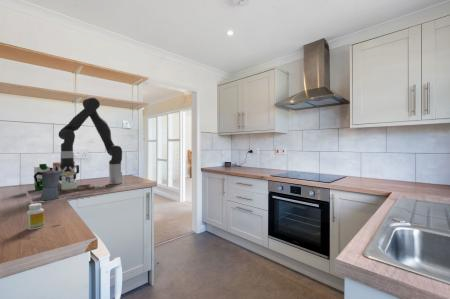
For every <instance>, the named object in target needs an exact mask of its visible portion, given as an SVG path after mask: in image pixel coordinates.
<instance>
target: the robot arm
mask: <svg viewBox="0 0 450 299" xmlns="http://www.w3.org/2000/svg"><path fill="white" fill-rule="evenodd" d="M82 106H83V109H81V111H80V112H78V113H77V114H76V115H75V116H73V118H72V119H70V121H69V122H68V124H66V125H65V126H64V127H63V128H61V129H60V130H59V132H58V137H59V138H60V139H61V140H63V142H62V143H61V144H60V162H61V166H58V167H57V166H56V167H55V171H58V169H59V168H61V169H62V170H61V172H62V173H63V172H67V171H72V172H73V173H74V174H73V179H74V180H75V181H76V179H77V174H80V165H79V164H75V165H74V162H75V160H74V159H75V158H74V157H75V156H74V143H75V138H76V134H75V131H78V130H79V129H80V128H81V126H82V125H83V124H84V123H85V122H86V120H88V118H90V119H91V122H92V123H93V126H94V127H95V129H96V131H97V133H98V135H99V137H100V139H101V140H102V143H103V144H104V147H105V150H106V152H107V154H108V155H109V156H111V159H110V160H109V161H108V169H109V170H108V172H109V173H108V174H109V175H108V176H109V177H108V178H109V179H108V181H109V184H110V185H119V184H123V172H122V160H123V148H122V147H121V146H120V145H115V144H114V142H113V140H112V139H113V138H112V135H111V134H112V132H111V128H110V126H109V124H108V123H107V121H106V120H105V119H104V118H102V117H101V116H100V115H99V113H98V111H97V110H98V109H99V108H100V106H101V102H100V100H99V99H98V98H96V97H90V98H86V99H83V101H82ZM74 167H75V171H74V170H73V168H74ZM62 173H61V175H62ZM61 175H60V177H59V180H60V181H62V176H61Z"/></svg>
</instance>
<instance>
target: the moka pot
mask: <svg viewBox="0 0 450 299" xmlns="http://www.w3.org/2000/svg"><path fill="white" fill-rule="evenodd" d="M61 173H62V172H61V171H54V170H53V167H50V170H49V171H44V172H37V173H36V174H35V175H34V174H33V180H34V179H35V182H36V185H37V187H42V185H41V186H40V185H39V183H38V180H37V177H36V176H37V175H42V181H43V190H41V195H40V200H41V201H53V200H54V201H55V200H58V199H59V198H60V196H59V194H58V187H57V186H58V182H59V177H60V175H61Z"/></svg>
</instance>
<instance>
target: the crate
mask: <svg viewBox="0 0 450 299" xmlns="http://www.w3.org/2000/svg"><path fill="white" fill-rule="evenodd" d="M65 178H66V181H61V182H59V190H67V189H75V188H77V185H78V182H77V181H76V180H75V181H74V180H70V177H69V176H65ZM67 179H68V180H67Z"/></svg>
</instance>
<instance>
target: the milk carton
mask: <svg viewBox="0 0 450 299" xmlns="http://www.w3.org/2000/svg"><path fill="white" fill-rule="evenodd" d="M38 165H39V166H33V170H34V171H33V172H34V173H33V176H34V175H35V174H36V173H37V172H44V171H49V170H50V168H51V166H50V165H47V163H40V164H38ZM36 177H37V180H38V183H39V185H40V186H41V185H42V187H37V185H36V182H35V179H34V178H33V180H34V190H35V191H42V190H43V181H42V175H37V176H36Z"/></svg>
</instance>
